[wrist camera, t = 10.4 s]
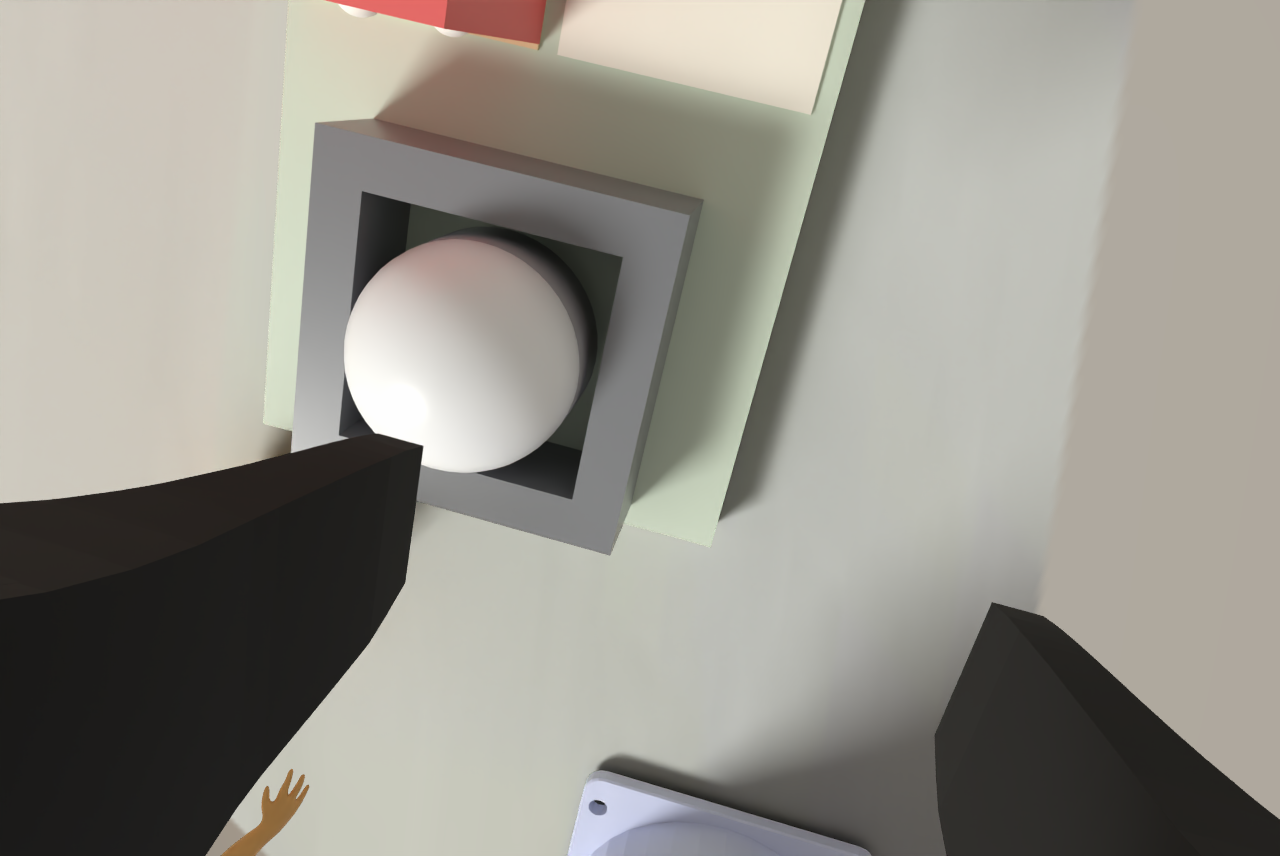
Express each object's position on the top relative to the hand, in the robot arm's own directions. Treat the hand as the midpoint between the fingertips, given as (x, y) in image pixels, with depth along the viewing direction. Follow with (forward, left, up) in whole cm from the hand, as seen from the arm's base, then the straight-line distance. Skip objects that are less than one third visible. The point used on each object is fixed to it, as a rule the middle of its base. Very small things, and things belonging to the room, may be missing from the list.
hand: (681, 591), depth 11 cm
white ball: (0, +5, -8) cm, 10 cm away
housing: (0, +5, -9) cm, 10 cm away
